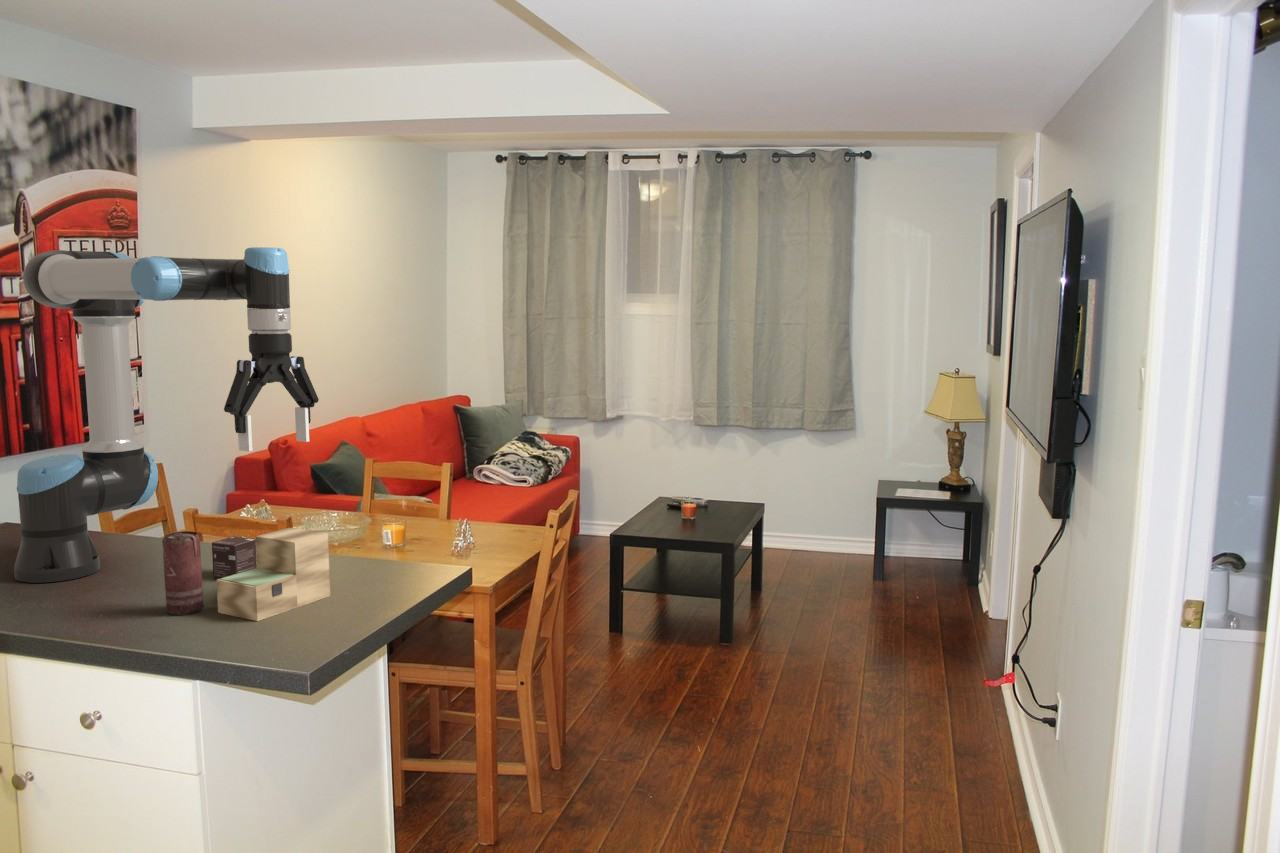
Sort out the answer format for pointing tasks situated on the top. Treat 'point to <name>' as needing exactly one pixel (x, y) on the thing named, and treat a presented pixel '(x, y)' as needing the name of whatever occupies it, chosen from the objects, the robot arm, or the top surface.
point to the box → (233, 556)
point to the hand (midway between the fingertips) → (275, 446)
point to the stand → (278, 576)
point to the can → (182, 573)
